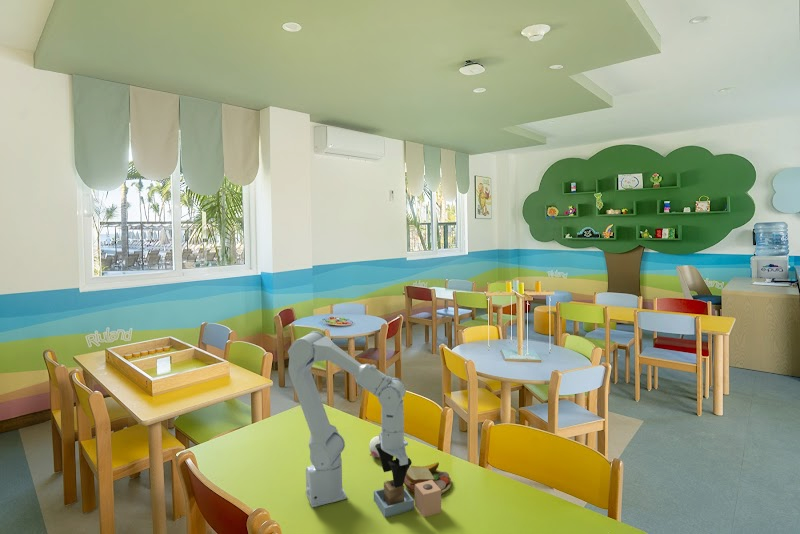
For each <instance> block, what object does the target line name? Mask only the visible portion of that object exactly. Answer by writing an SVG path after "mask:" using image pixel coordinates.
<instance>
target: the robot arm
mask: <svg viewBox="0 0 800 534" xmlns="http://www.w3.org/2000/svg"><path fill="white" fill-rule="evenodd" d="M287 354H288V357H289V358H288V359H289V360H288V367H287V368H288V375H289V377H290V380H291V382H292V385H293V388H294V391H295V393H296V396H297V398H298V402H299V404H300V407H301V410H302V413H303V415H304V418H305V422H306V424H307V427H308V429H309V432H310V437H309V441H308V449H309V452H310V454H309V460H310V463H311V465H309V466H306V468H305V484H306V485H305V487H306V488H305V494H306V496H307V498H308V501H309V504H310V506H311V508H316V507H320V506H323V505H327V504H330V503H331V504H332V503H335V502H336V503H337V502H339V501H343V500H347V499H348V495H347V493H346V492H345V490H344V487H343V467H342V465H343V464H342V462H343V461H342V453H343V451H344V450H345V447H346V442H345V439H344V437H343V436H342V435H341V434H340V433H339V430H338V429H337V427H336V426H335V425H332V424H331V422H330V420H329V418H328V415H327V412H326V409H325V407H324V404H323V402H322V398H321V396H320V393H319V390H318V387H317V384H316V382H315V379H314V375H313V374H312V370H311V369H312V367H313V365H314V364H315V363H316V362H323V361H328V362H330V363H332V364H334V365H335V366H337V367H339V368H340V369H342V370H344V371H346V372H347V373H349V374H350V375H352V376H353V377H354V381H355V383H356V384H357V385H359V386H361V387H362V388H364V389H365V390H366V391H368V392H369V393H371V394H372V395H373V396H375V397H377V399H378V402H379V404H380V406H381V411H380V412H381V415H380V416H381V432H380V433H378V436H379V440H380V441H381V442H380V443H379V444H376V445H375V447H376V449H377V451H378V453H379V456H380V457H379V459H380V463H381V467H382V470H383V473H387V472H391V474H392V480H393V482H394V486H395V487H396V488H397V487H401V486H404V480H405V476H406V473H407V470H408V469H409V467H411V466H412V464H413V463H412V459H410V457H409V456H408V455H407V452H406V446H407V447H408V445H409V442H408V441H407V440H406V439H405V420H404V419H405V410H404V409H405V408H404V400H403V399H404V398H405V395H406V392H407V387H406V385H405V383H404V382H403V381H402V380H401V379H400V378H398V377H392V376H390V375H386V374H385V373H384V372H382V371H380V370H379V369H377V365H376V364H370V363H361V362H359V361H358V360H356V359H355V357H353V356H351V355H350V354H348V353H347V352H346V351H344V350H343V349H342V348H340V347H339V345H337V344H335V343H334V342H333V341H332V339H331V338H330V336H329V337H328V336H326V335H324V333H322V332H320V331H317V330H315V331H314V330H313V331H310V332H308V334H306V335H304V336H302V337H300V338H298V339H296V340H294V341H292V343H291V345H290V347H289V348H288V350H287ZM394 457H395V459H394Z"/></svg>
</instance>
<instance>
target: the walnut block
mask: <svg viewBox="0 0 800 534" xmlns="http://www.w3.org/2000/svg"><path fill="white" fill-rule="evenodd" d="M383 488H384V501H385V502H386V504H387V506H390V505H394V504H397V503H401V502H404V488H405V485H403V486H401V487H397V488H396V487H395V486H394V482H393V479H392V480H388V481H387V480H386V481H384V482H383Z"/></svg>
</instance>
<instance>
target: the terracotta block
mask: <svg viewBox="0 0 800 534" xmlns="http://www.w3.org/2000/svg"><path fill="white" fill-rule="evenodd" d="M414 508H416V510H417V511H418V513H419V514H420V515H421V516H422V517H423V518H426V517H431V516H433V515H436V514H439V513H442V494H441V489H440V488H439V487H438V486H437V485H436V484H435V483H434V481H433V480H429V481H425V482H421V483H418V484H415V492H414Z"/></svg>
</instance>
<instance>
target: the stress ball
mask: <svg viewBox="0 0 800 534" xmlns="http://www.w3.org/2000/svg"><path fill="white" fill-rule="evenodd" d="M380 442H381V441H380V440H379V435H377V436H374V437H372V438H371V440H370V442H369V444H368V448H369V452H370V454H369V456H373V457H375V458H380V456H379V453H378V451H377V449H376V447H375V445H376V444H379V443H380Z"/></svg>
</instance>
